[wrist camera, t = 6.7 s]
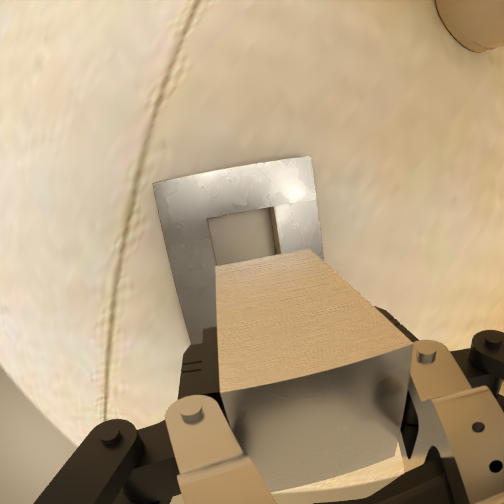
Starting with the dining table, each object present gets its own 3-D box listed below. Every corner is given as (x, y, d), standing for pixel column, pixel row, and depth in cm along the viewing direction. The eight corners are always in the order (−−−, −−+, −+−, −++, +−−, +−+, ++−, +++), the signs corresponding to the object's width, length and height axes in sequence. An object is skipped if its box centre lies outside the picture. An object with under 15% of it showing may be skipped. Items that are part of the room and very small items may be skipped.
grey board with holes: (158, 182, 25) (152, 183, 23) (301, 156, 26) (311, 155, 23) (225, 435, 33) (226, 451, 30) (327, 413, 33) (334, 428, 31)
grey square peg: (215, 266, 13) (219, 393, 6) (309, 248, 14) (413, 343, 6) (232, 348, 14) (253, 495, 7) (317, 330, 15) (394, 455, 7)
